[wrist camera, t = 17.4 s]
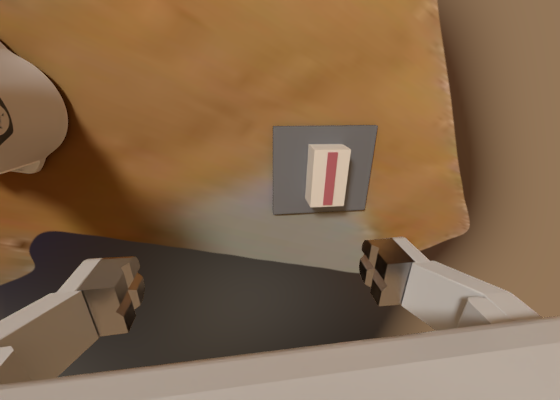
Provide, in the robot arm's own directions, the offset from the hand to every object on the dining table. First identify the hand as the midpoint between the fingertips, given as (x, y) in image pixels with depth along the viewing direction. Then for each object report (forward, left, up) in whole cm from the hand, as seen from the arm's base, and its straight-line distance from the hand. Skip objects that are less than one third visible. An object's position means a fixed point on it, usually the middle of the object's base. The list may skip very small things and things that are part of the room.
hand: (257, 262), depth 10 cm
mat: (+14, -9, -37) cm, 41 cm away
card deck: (+14, -9, -36) cm, 40 cm away
